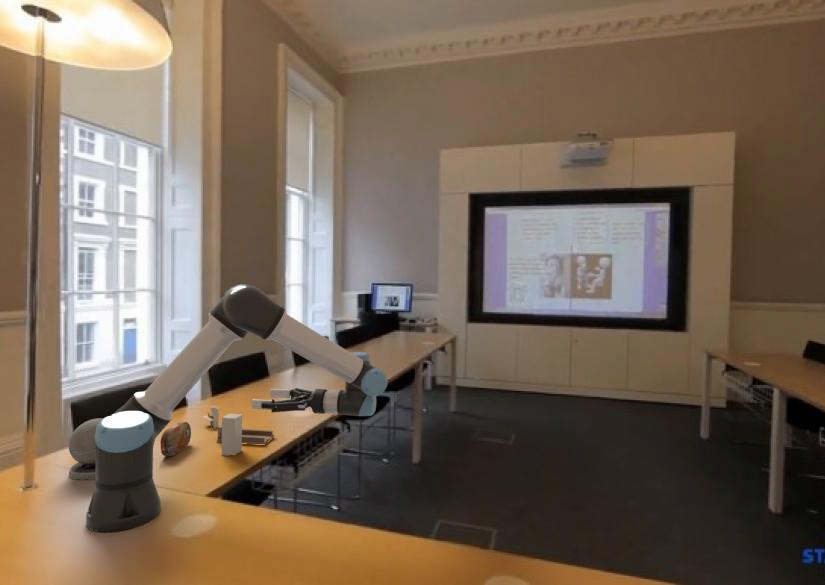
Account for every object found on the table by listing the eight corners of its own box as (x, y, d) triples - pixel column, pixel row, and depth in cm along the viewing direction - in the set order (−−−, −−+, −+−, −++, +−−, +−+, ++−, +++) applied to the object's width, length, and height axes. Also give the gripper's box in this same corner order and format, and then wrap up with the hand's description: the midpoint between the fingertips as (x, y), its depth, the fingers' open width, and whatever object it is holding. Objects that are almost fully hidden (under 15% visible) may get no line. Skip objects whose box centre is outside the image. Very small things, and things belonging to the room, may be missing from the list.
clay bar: (234, 455, 152) (235, 418, 152) (221, 454, 153) (222, 417, 152) (241, 450, 157) (242, 414, 156) (228, 449, 157) (229, 413, 157)
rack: (264, 445, 162) (264, 431, 162) (216, 442, 164) (217, 427, 164) (274, 437, 170) (274, 423, 170) (228, 434, 172) (228, 420, 172)
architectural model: (209, 430, 177) (209, 410, 177) (201, 426, 182) (202, 406, 182) (218, 428, 180) (218, 409, 179) (210, 424, 185) (211, 405, 184)
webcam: (119, 475, 136) (120, 423, 135) (64, 483, 130) (64, 428, 129) (123, 459, 147) (123, 411, 147) (72, 465, 141) (73, 415, 141)
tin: (168, 460, 147) (168, 433, 147) (158, 460, 147) (158, 433, 147) (191, 443, 162) (192, 418, 162) (182, 443, 162) (182, 418, 162)
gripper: (313, 425, 138) (243, 421, 141) (337, 402, 163) (277, 399, 166) (314, 400, 138) (243, 396, 141) (337, 381, 163) (277, 378, 165)
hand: (261, 398), depth 153 cm, fingers open, 13 cm apart
